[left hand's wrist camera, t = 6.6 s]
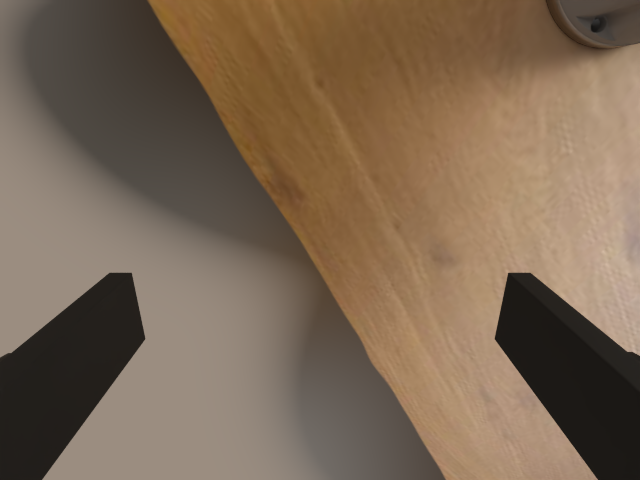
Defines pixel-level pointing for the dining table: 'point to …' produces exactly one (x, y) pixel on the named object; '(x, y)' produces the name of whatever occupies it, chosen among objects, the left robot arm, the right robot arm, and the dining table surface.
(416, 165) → the dining table surface
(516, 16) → the dining table surface
